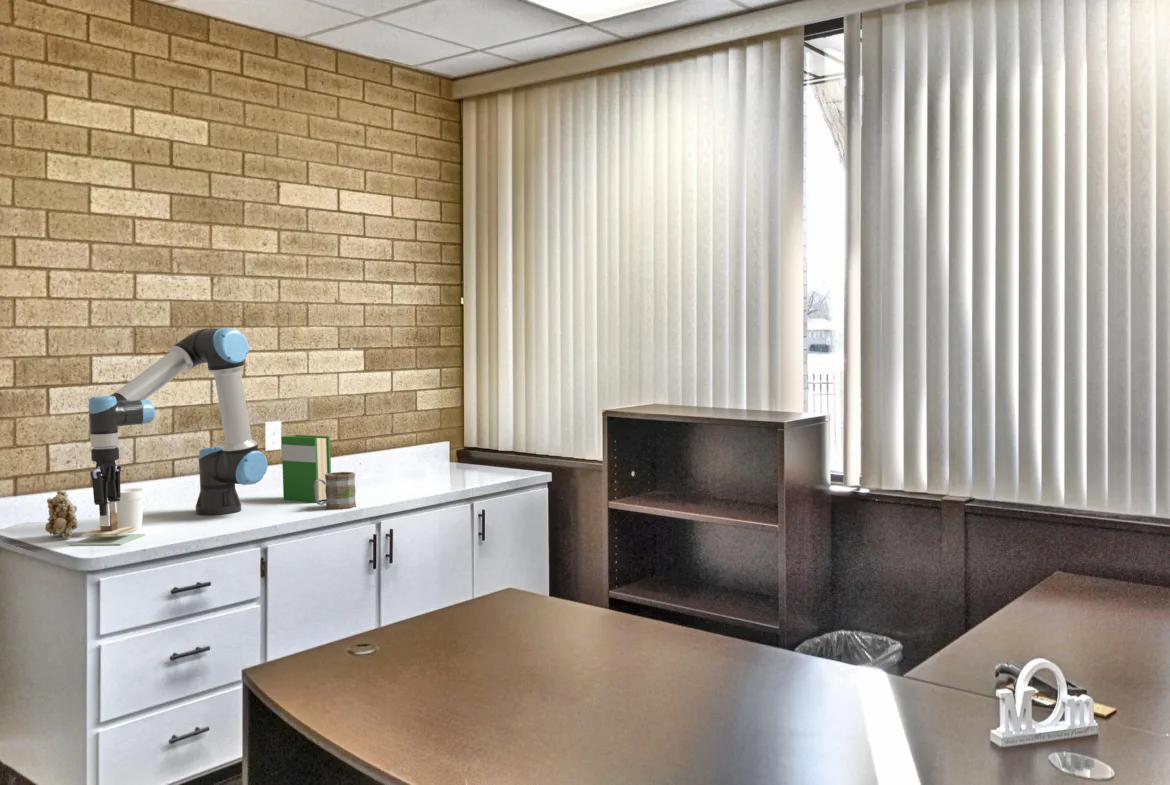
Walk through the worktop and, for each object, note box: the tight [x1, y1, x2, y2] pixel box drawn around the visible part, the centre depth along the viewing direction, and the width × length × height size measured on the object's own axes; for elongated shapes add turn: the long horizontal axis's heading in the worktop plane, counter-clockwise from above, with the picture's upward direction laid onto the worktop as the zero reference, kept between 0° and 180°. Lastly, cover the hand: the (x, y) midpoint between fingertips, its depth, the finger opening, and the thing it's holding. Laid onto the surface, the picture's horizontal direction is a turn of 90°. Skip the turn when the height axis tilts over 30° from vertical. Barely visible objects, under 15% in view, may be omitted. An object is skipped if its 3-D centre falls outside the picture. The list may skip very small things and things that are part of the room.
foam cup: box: [116, 487, 146, 534], centre depth 313 cm, size 10×9×13 cm
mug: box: [314, 471, 357, 511], centre depth 350 cm, size 16×11×12 cm
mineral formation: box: [44, 489, 79, 540], centre depth 303 cm, size 8×13×15 cm, turn 50°
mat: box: [70, 533, 146, 547], centre depth 298 cm, size 15×15×1 cm
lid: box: [80, 513, 136, 538], centre depth 298 cm, size 11×11×6 cm
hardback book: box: [281, 434, 332, 504], centre depth 370 cm, size 18×7×24 cm, turn 59°
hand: (108, 524), depth 298 cm, fingers closed on lid, 3 cm apart
